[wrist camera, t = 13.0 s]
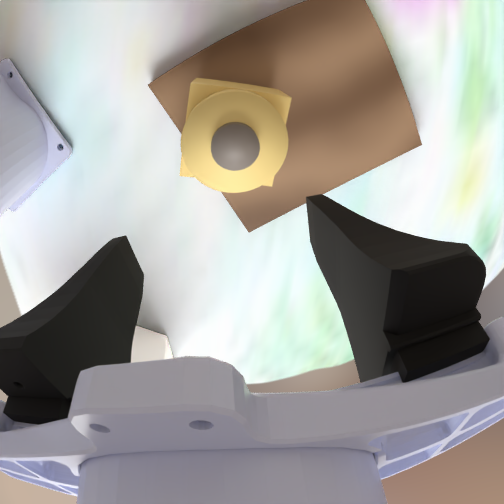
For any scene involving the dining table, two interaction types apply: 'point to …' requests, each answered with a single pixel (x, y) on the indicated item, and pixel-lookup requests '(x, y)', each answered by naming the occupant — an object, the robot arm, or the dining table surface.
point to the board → (309, 98)
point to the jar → (149, 346)
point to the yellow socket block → (234, 135)
